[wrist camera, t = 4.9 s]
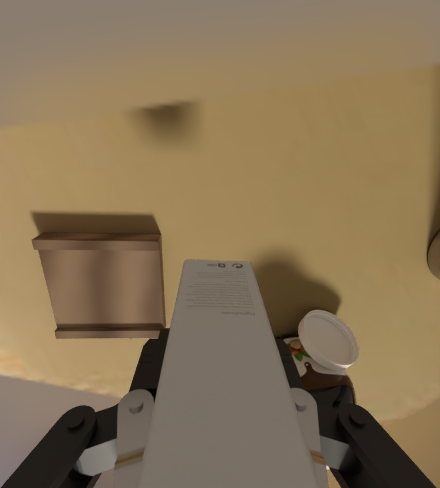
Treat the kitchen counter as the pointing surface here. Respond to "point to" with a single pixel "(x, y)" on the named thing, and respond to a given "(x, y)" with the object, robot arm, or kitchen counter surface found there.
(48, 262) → the board
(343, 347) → the spread jar
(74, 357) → the kitchen counter surface
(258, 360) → the skincare box
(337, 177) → the kitchen counter surface
